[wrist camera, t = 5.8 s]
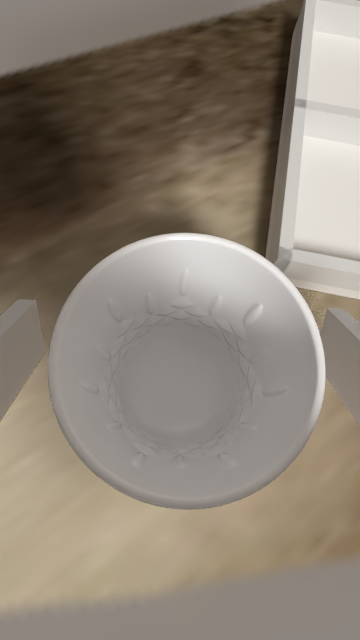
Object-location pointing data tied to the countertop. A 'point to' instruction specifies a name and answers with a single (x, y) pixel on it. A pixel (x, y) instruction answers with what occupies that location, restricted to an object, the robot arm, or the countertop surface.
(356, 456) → the countertop surface
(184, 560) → the countertop surface
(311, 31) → the white divided tray
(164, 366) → the white cup
